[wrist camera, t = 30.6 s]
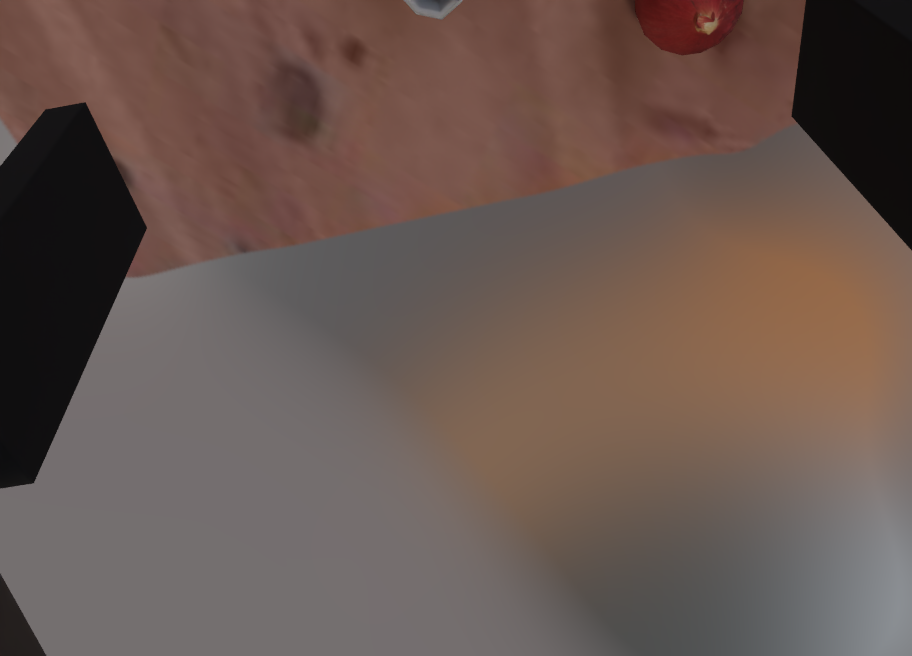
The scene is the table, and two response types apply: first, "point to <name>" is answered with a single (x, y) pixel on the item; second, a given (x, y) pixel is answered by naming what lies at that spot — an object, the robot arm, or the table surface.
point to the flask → (433, 7)
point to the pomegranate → (687, 23)
